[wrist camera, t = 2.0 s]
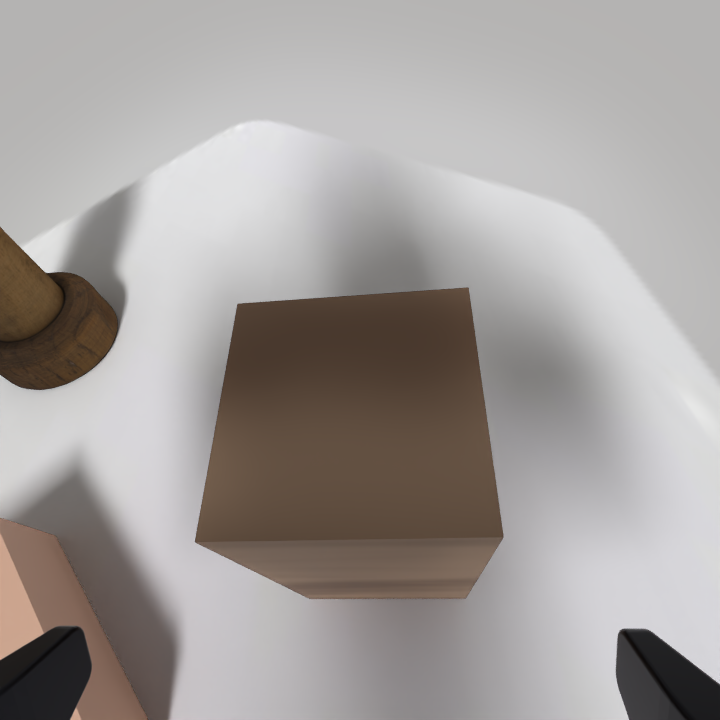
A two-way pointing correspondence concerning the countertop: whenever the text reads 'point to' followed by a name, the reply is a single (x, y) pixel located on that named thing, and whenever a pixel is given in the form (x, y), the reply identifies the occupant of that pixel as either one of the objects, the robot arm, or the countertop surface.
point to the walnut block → (354, 448)
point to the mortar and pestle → (48, 322)
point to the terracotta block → (58, 617)
